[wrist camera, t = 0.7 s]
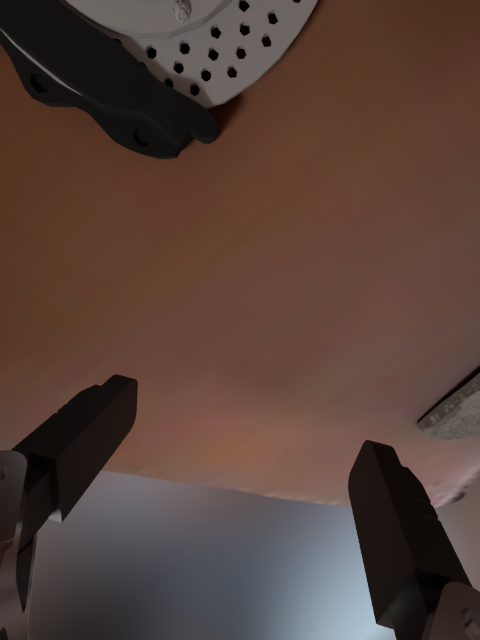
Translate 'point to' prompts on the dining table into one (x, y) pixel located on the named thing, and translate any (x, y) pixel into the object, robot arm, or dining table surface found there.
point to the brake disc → (145, 60)
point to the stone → (455, 414)
